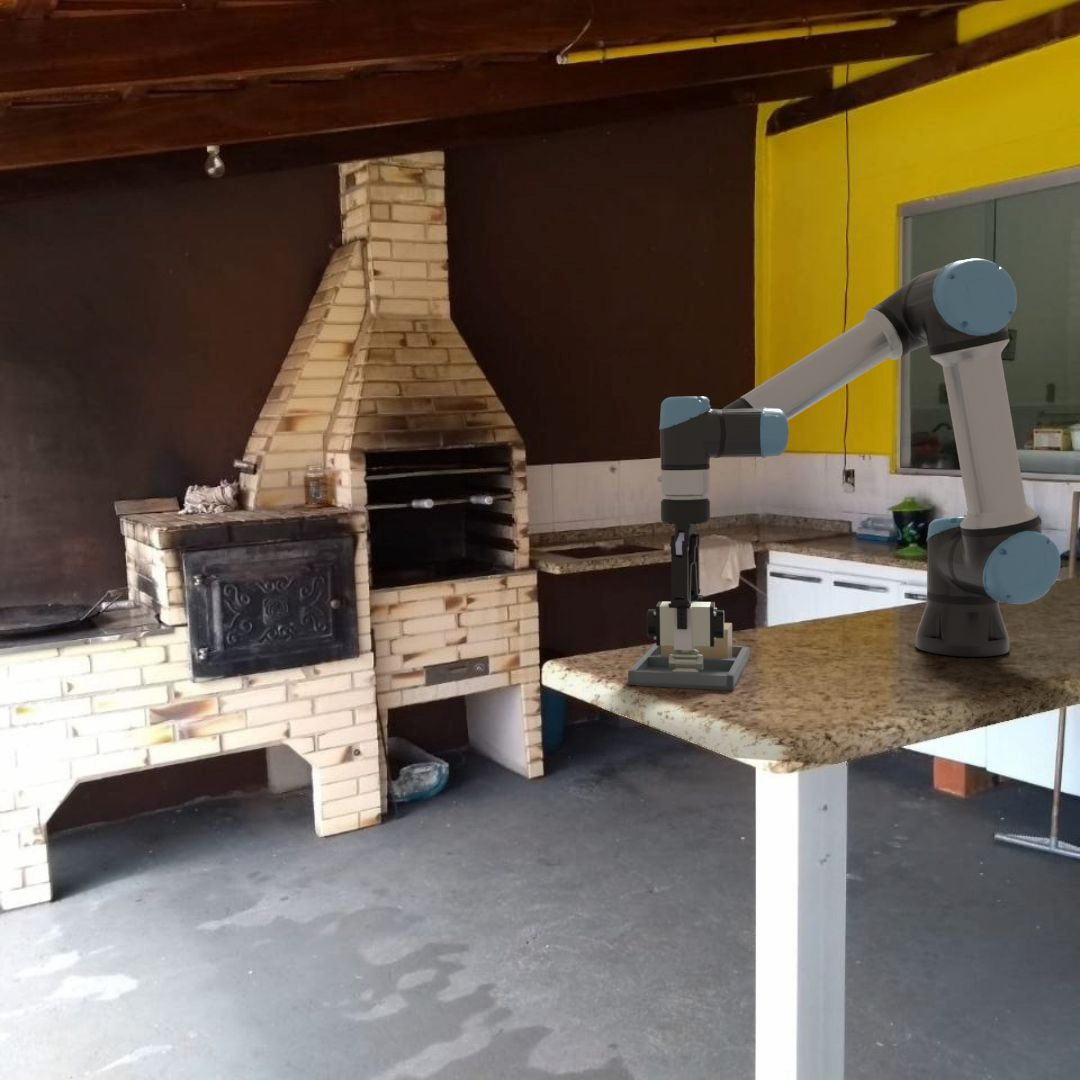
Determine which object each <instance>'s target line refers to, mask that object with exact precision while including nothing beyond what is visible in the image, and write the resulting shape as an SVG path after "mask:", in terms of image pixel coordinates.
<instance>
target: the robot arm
mask: <svg viewBox="0 0 1080 1080" xmlns="http://www.w3.org/2000/svg"><path fill="white" fill-rule="evenodd" d="M1017 304H1018V296H1017V288H1016V285H1015V283H1014V281H1013V278H1012V277H1011V276H1010V274H1009V273H1008V272H1007V271H1006V270H1005V269H1004V268H1003V267H1001V266H999V265H998V264H997V263H995V262H994V261H991V260H990V259H984V258H969V259H963V260H956V261H955V262H954V261H953V262H951V263H948V264H946V265H944V266H940V267H938V268H936V269H933V270H929V271H925V272H922V273H921V274H919V275H917V276H916V277H914V278H912V279H910V281H907V282H906V283H905V284H904V285H902V286H901V287H900V288H899V289H897V290H896V291H895V292H893V293H892V294H890V295H888V297H886V298H885V299H883V300H882V301H881V302H879V303H878V304H877V305H875V306H873V307H872V308H870V309H868V310H866V312H865V314H864V317H863V320H862V321H861V322H859V323H857V324H855V325H854V326H853V327H851V328H849V329H848V330H846V331H845V332H842V333H841V334H840V335H838V336H836V337H835V338H833V339H832V340H830V341H828V342H827V343H825V344H824V345H821V347H819V348H817V349H816V350H814V351H812V352H811V353H810V354H808V355H806V356H805V357H803V358H801V359H800V360H798V361H797V362H795V363H793V364H791V365H790V366H788V367H787V368H785V369H784V370H783V371H780V372H778V373H777V374H776V375H774V376H771V378H769V379H767V380H766V381H764V382H762V383H761V384H760V385H758V386H757V387H754V388H753V389H752V390H750V391H749V392H747V393H745V394H743V395H741V396H740V398H738V399H736V400H734V401H733V402H731V403H729V404H727V405H725V406H724V407H723V408H722V409H718V408H711V407H712V406H711V405H710V399H709V397H707V396H695V395H693V396H689V395H688V396H670V397H667V398H665V399H663V400H662V402H661V404H660V413H659V414H660V416H659V417H660V419H659V427H658V429H659V434H660V435H659V445H660V475H658V476H657V477H656V480H657V482H659V483H661V484H660V495H662V496H663V497H664V498H662V499H661V501H660V521H661V522H662V523H663V524H666V525H667V524H668V525H673V524H674V527H675V528H674V533H673V535H671V537H670V544H669V547H670V554H671V556H670V557H671V559H670V560H671V562H670V563H671V564H670V565H671V573H670V575H671V578H670V579H671V581H670V582H671V585H670V586H671V596H670V597H671V599H670V602H671V603H669V608H674V650H692V608H690V606H691V602H699V601H703V599H704V595H703V594H701V589H700V587H701V586H700V584H701V583H700V582H701V581H700V580H701V579H700V543H701V535H700V533H697V527H696V525H700V524H706V523H708V522H710V519H711V501H710V499H709V498H708V497H707V496H709V495H710V494H711V467H710V466H711V464H710V462H711V460H710V459H719V458H762V459H764V458H768V457H779V456H781V455H783V454H784V452H785V451H786V449H787V446H788V442H789V435H790V434H789V423H788V422H789V420H791V419H793V418H794V417H796V416H797V415H799V414H801V413H802V412H804V411H806V410H807V409H808V408H811V407H812V406H813V405H815V404H817V403H818V402H821V400H824V399H825V398H826V397H828V396H829V395H831V394H833V393H835V392H836V391H838V390H840V389H841V388H842V387H844V386H846V385H848V384H849V383H851V382H852V381H854V380H855V379H857V378H858V377H860V376H862V375H863V374H865V373H867V372H869V371H870V370H872V369H874V368H875V367H876V366H878V365H880V364H881V363H883V362H885V361H886V360H888V359H889V360H892V361H896V360H899V359H901V358H902V357H904V356H906V355H907V354H909V353H911V352H913V351H915V350H918V349H921V348H923V347H928V350H929V357H930V359H932V360H933V361H935V362H936V363H938V364H940V366H942V372H943V378H944V384H945V388H946V393H947V394H946V395H947V399H948V405H949V407H948V408H949V411H950V417H951V422H952V430H953V433H954V439H955V444H956V445H955V446H956V453H957V456H958V462H959V469H960V474H961V480H962V485H963V490H964V496H965V503H966V508H967V513H966V515H965V516H958V517H957V516H956V517H942V518H935V519H933V520H932V521H931V522H930V523H929V524H928V527H927V528H928V530H927V537H926V543H927V544H926V545H927V547H926V549H927V552H926V555H927V557H926V559H927V560H926V561H927V562H926V564H927V565H926V568H927V569H926V571H927V572H926V604H925V608H924V610H923V614H922V616H921V619H920V621H919V624H918V627H917V630H916V633H915V647H916V648H917V649H918V650H920V651H923V652H927V653H931V654H937V655H941V656H942V655H943V656H950V657H972V658H973V657H974V658H975V657H976V658H977V657H978V658H979V657H982V658H983V657H995V656H1001V655H1005V654H1007V653H1009V651H1010V636H1009V634H1008V630H1007V627H1006V625H1005V622H1004V618H1003V616H1002V612H1001V610H1000V609H1001V608H1000V603H1002V604H1014V605H1023V604H1030V603H1032V602H1035V601H1037V600H1039V599H1041V598H1042V597H1044V596H1045V595H1046V594H1047V593H1048V592H1049V591H1050V589H1051V588H1053V587H1052V586H1053V585H1054V584H1056V582H1057V580H1058V578H1059V576H1060V575H1059V574H1060V571H1061V566H1062V565H1061V564H1062V563H1061V553H1060V551H1059V549H1058V547H1057V545H1056V543H1055V542H1054V541H1053V540H1051V539H1050V537H1048V536H1047V535H1046V534H1045V533H1042V527H1041V520H1040V514H1039V512H1038V511H1037V510H1036V509H1034V508H1033V507H1031V506H1030V505H1028V503H1027V502H1026V495H1025V490H1024V485H1023V478H1022V472H1021V468H1020V460H1019V455H1018V454H1019V453H1018V449H1017V443H1016V437H1015V431H1014V425H1013V424H1014V423H1013V419H1012V413H1011V408H1010V401H1009V400H1010V399H1009V395H1008V390H1007V383H1006V379H1005V377H1006V376H1005V373H1004V371H1005V370H1004V366H1003V359H1002V352H1003V350H1004V349H1005V348H1006V346H1007V345H1008V344H1009V342H1010V337H1009V335H1010V334H1009V329H1008V324H1009V322H1010V321H1011V319H1012V316H1013V314H1014V313H1015V312H1016V310H1017V309H1016V308H1017Z"/></svg>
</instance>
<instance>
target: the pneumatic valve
mask: <svg viewBox="0 0 1080 1080" xmlns="http://www.w3.org/2000/svg"><path fill="white" fill-rule="evenodd" d="M669 603H671V601H658V602H657V604H656V606H655V608H654V609H649V608H648V610H647V613H646V614H647V615H646V632H647V633H646V634H647V637H648V638H653V640H655V641H656V642H655V643H656V646H674V608H669ZM690 608H692V650H674V651H673V653H674V654H670V655H669V669H673V670H672V672H686V673H698V670H703V655H699V651H697V650H695V647H714V644H715V641H716V638H724V623H725V610H724V609H723V610H722V609H718V608H717V607H716V602H715V601H698V602H691V606H690Z"/></svg>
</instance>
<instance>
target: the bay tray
mask: <svg viewBox="0 0 1080 1080" xmlns="http://www.w3.org/2000/svg"><path fill="white" fill-rule="evenodd" d="M695 650H697V651H699V655H703V670H698V673H686V672H672V670H673V669H669V655H670V654H674V653H673V651H674V646H656V642H655V643H654V644H653V645H652V646H651V647H650V648H649V649H648V650H647V652H646V653H644V654H643V655H642V656H641V657H640V658H639V659H638V660H637V662H636V663H635V664H633V666H632V667H631V668H630V669H628V671H627V676H628V677H627V679H628V680H627V682H628V686H630V685H636V687H650V688H651V687H655V688H669V689H670V688H672V689H673V688H674V689H675V688H676V689H691V690H692V689H694V690H695V689H697V690H713V691H732V692H733V691H734V690H735V688H736V686H737V685H738V683H739V680H740V679H741V676H742V674H743V672H744V669H745V668H746V666H747V665H748V662H749V659H750V646H749V645H733V623H732V622H724V638H716V641H715V644H714V647H695Z"/></svg>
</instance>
